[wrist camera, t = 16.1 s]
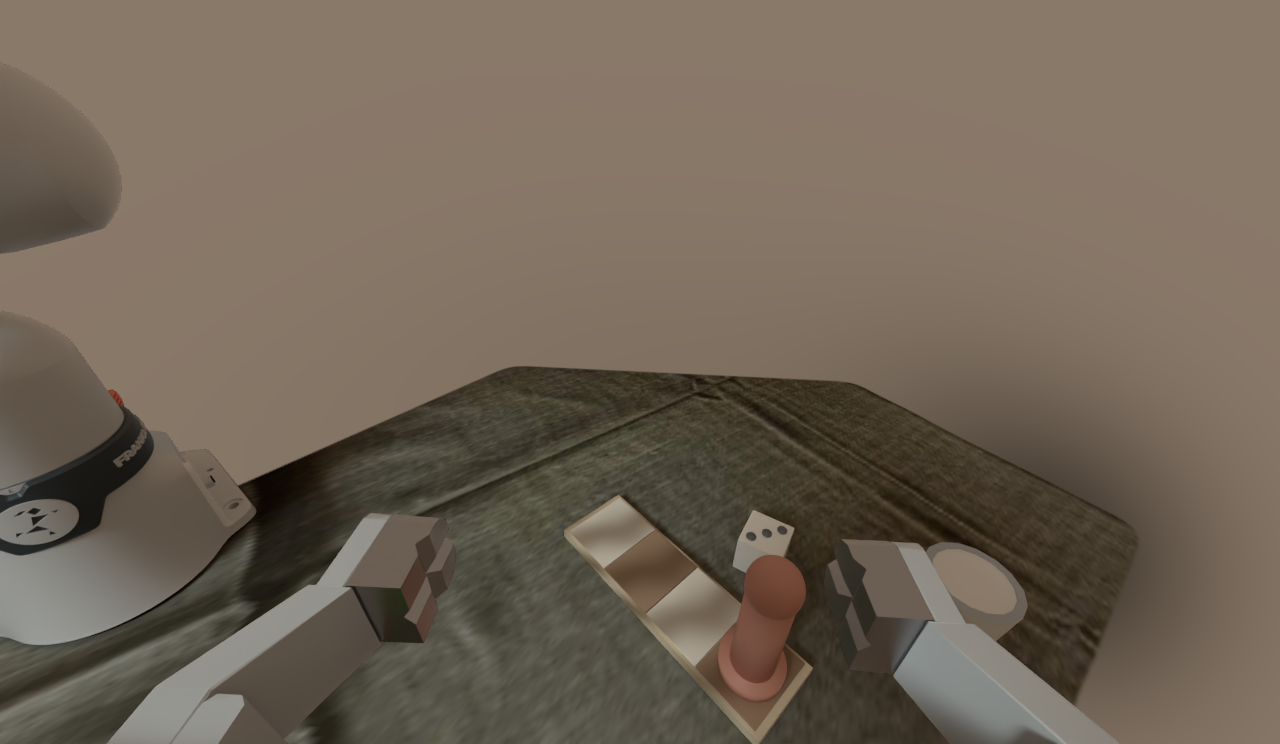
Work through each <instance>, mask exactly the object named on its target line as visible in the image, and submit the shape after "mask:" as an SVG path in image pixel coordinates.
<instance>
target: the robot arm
mask: <svg viewBox="0 0 1280 744" xmlns="http://www.w3.org/2000/svg"><path fill="white" fill-rule="evenodd" d="M121 192H122V185H121V175H120V171H119V167H118V164H117V162H116V159H115V157H114V155H113V153H112V151H111V149H110V147H109V145H108V144H107V142H106V141H105V139H104V138H103V136H102V135H101V134H100V132H99V131H98V130H97V129H96V127H95V126H94V125H93V124H92V123H91V122H90V121H89V120H88V119H87V118H86V117H85V116H84V115H83V114H82V113H81V112H80V111H79V110H78V109H77V108H76V107H75V106H73V105H72V104H71V103H70V102H69V101H68V100H66V99H65V98H63V97H62V96H61V95H59V94H58V93H57V92H55V91H54V90H53V89H51V88H49V87H48V86H46V85H45V84H43V83H42V82H40V81H38V80H37V79H35V78H33V77H31V76H30V75H28V74H26V73H24V72H22V71H21V70H19V69H17V68H14V67H12V66H9V65H6V64H3V63H0V254H1V253H10V252H17V251H20V250H25V249H29V248H33V247H37V246H41V245H45V244H49V243H53V242H57V241H61V240H65V239H68V238H72V237H76V236H79V235H83V234H86V233H90V232H94V231H97V230H100V229H103V228H105V227H106V226H107V225H108V223H110V221H111V220H112V218H113V217H114V215H115V213H116V211H117V209H118V206H119V203H120V199H121ZM255 514H256V508H255V507H254V506H253V504H252V503H251V502H250V501H249V499H248V498H247V497H246V496H245V494H244V493H243V492H242V491H241V489H240V488H239V487H238V486H237V484H236V483H235V482H234V481H233V480H232V478H231V477H230V476H229V474H228V473H227V472H226V471H225V470H224V468H223V467H222V466H221V464H220V463H219V462H218V461H217V459H216V458H215V457H214V456H213V455H212V454H211V453H210V451H208V450H206V449H201V450H190V451H184V452H179V450H178V449H177V447H176V446H175V444H174V443H173V441H172V440H171V438H170V437H169V436H168V434H167V433H165V432H161V431H148V430H147V429H146V427H145V425H144V423H143V422H142V421H141V420H140V419H139V418H138V417H137V416H136V415H134V414H132V413H131V412H130V411H129V409H127V408H125V407H124V404H123V401H122V399H121V398H120V396H119V395H118V393H117V392H116V391H114V390H108V391H107V389H106V388H105V387H104V385H103V384H102V382H101V381H100V380H99V378H98V377H97V375H96V374H95V373H94V372H93V370H92V369H91V367H90V366H89V364H88V363H87V362H86V360H85V359H84V357H83V356H82V355H81V353H80V352H79V351H78V349H77V348H76V346H75V345H74V344H73V342H72V341H71V340H70V339H69V338H68V337H66V336H65V335H64V334H62V333H60V332H59V331H57V330H56V329H54V328H52V327H50V326H48V325H46V324H44V323H42V322H40V321H37V320H35V319H32V318H30V317H26V316H23V315H20V314H15V313H11V312H5V311H0V637H7V638H11V639H13V640H16V641H19V642H21V643H25V644H32V645H49V644H57V643H64V642H68V641H73V640H77V639H81V638H84V637H87V636H91V635H94V634H96V633H99V632H102V631H105V630H107V629H110V628H112V627H115V626H117V625H119V624H121V623H124V622H126V621H128V620H130V619H132V618H134V617H136V616H138V615H140V614H141V613H143V612H145V611H147V610H149V609H150V608H152V607H154V606H155V605H157V604H159V603H160V602H162V601H163V600H165V599H166V598H168V597H169V596H171V595H172V594H174V593H175V592H177V591H178V590H179V589H181V588H182V587H183V586H184V585H186V584H187V583H188V582H189V581H191V580H192V579H193V578H194V577H195V576H196V575H198V574H199V573H200V572H201V571H202V570H203V569H204V568H205V567H206V566H207V565H208V564H209V562H210V561H211V560H212V559H213V558H214V557H215V555H216V554H217V553H218V551H219V550H220V549H221V547H222V546H223V544H224V543H225V542H226V541H227V540H228V538H229V537H230V536H231V535H233V534H234V533H235V532H236V531H238V530H239V529H240V528H241V527H243V526H244V525H245V524H246V523H247V522H249V521H250V520H251V519H252V518H253V517H254V515H255ZM448 531H449V527H448V524H447V521H446V519H442V518H430V517H418V516H406V515H393V514H378V513H371V514H369V515H368V516H367V517H365V518H364V519H363V520H362V521H361V522H360V524H359V525H358V527H357V528H356V530H355V531H354V532H353V534H352V535H351V537H350V538H349V539H348V541H347V542H346V544H345V545H344V546H343V548H342V549H341V551H340V552H339V554H338V555H337V556H336V558H335V559H334V561H333V562H332V563H331V565H330V566H329V568H328V569H327V571H326V572H325V573H324V575H323V576H322V578H321V579H320V580H319V582H318V583H317V585H308V586H306V587H305V588H303V589H302V590H300V591H299V592H297V593H296V594H294V595H293V596H291V597H290V598H288V599H287V600H285V601H284V602H282V603H281V604H279V605H278V606H276V607H274V608H273V609H271V610H270V611H268V612H267V613H265V614H264V615H262V616H261V617H259V618H258V619H256V620H255V621H253V622H252V623H250V624H249V625H247V626H246V627H244V628H243V629H241V630H240V631H238V632H237V633H235V634H234V635H232V636H231V637H229V638H228V639H226V640H225V641H223V642H222V643H220V644H219V645H217V646H216V647H214V648H213V649H211V650H210V651H208V652H207V653H205V654H204V655H202V656H201V657H199V658H198V659H196V660H195V661H193V662H192V663H190V664H189V665H187V666H186V667H184V668H183V669H181V670H180V671H178V672H177V673H175V674H174V675H172V676H171V677H169V678H168V679H166V680H165V681H163V682H162V683H160V684H159V685H157V686H156V687H155V688H154V689H153V690H152V691H151V692H150V694H149V695H148V696H147V697H146V698H145V700H144V701H143V702H142V703H141V704H140V705H139V707H138V708H137V709H136V710H135V711H134V712H133V714H132V715H131V716H130V717H129V718H128V719H127V721H126V722H125V723H124V724H123V725H122V726H121V728H120V729H119V730H118V731H117V732H116V733H115V735H114V736H113V737H112V738H111V739H110V740H109V742H108V743H107V744H288V743H287V742H286V741H285V740H284V738H285V737H286V736H287V735H288V734H289V733H290V732H291V731H293V730H294V729H295V728H296V727H297V726H298V725H299V724H300V723H301V722H302V721H303V720H304V719H305V718H306V717H307V716H308V715H309V714H310V713H311V712H312V711H313V710H314V709H315V708H316V707H317V706H318V705H319V704H320V703H321V702H322V701H323V700H324V699H325V698H327V697H328V696H329V695H330V694H331V693H332V692H333V691H334V690H335V689H336V688H337V687H338V686H339V685H340V684H341V683H342V682H343V681H344V680H345V679H346V678H347V677H348V676H349V675H350V674H351V673H352V672H353V671H354V670H355V669H356V668H357V667H358V666H359V665H361V664H362V663H363V662H364V661H365V660H366V659H367V658H368V657H369V656H370V655H371V654H372V653H373V652H374V651H375V650H376V649H377V648H378V647H379V646H380V645H381V643H380V642H403V643H424V641H425V639H426V637H427V635H428V632H429V630H430V628H431V625H432V623H433V621H434V619H435V616H436V614H437V612H438V607H437V604H436V600H435V599H436V598H437V597H439V596H440V595H441V594H442V593H443V592H445V591H446V590H447V589H448V586H449V584H450V582H451V579H452V577H453V573H454V568H455V563H456V550H455V547H454V543H453V542H451V541H450V540H449V539H448V538H446V535H447V533H448ZM833 551H834V554H835V556H836V559H835V560H834V561H832V562H831V563H829V564H828V566H827V569H826V572H825V576H824V589H825V595H826V600H827V604H828V607H829V610H830V612H831V613H832V614H833V615H834V616H835V617H836V618H837V619H838V620H839V621H840V622H841V625H840V628H839V630H838V633H837V636H838V639H839V642H840V645H841V648H842V651H843V654H844V657H845V660H846V664H847V667H848V670H859V671H871V672H882V673H893V674H894V675H893V677H894V678H895V679H896V680H897V681H898V683H899V684H900V685H901V686H902V687H903V689H904V690H905V691H906V692H907V693H908V695H909V696H910V697H911V698H912V699H913V701H914V702H915V703H916V704H917V705H918V706H919V708H920V709H921V710H922V711H923V712H924V714H925V715H926V716H927V717H928V718H929V720H930V721H931V722H932V723H933V724H934V726H935V727H936V728H937V729H938V730H939V732H940V733H941V734H942V735H943V736H944V738H945V739H946V740H947V741H948V742H949V743H950V744H1120V743H1119V742H1117V741H1116V740H1115V739H1114V738H1113V737H1111V736H1110V735H1109V734H1108V733H1106V732H1105V731H1104V730H1103V729H1102V728H1100V727H1099V726H1098V725H1097V724H1095V723H1094V722H1093V721H1092V720H1090V719H1089V718H1088V717H1087V716H1086V715H1085V714H1083V713H1082V712H1081V711H1080V710H1078V709H1077V708H1076V707H1075V706H1074V705H1072V704H1071V703H1070V702H1069V701H1068V700H1066V699H1065V698H1064V697H1063V696H1061V695H1060V694H1059V693H1058V692H1057V691H1055V690H1054V689H1053V688H1052V687H1050V686H1049V685H1048V684H1047V683H1046V682H1044V681H1043V680H1042V679H1041V678H1039V677H1038V676H1037V675H1036V674H1035V673H1033V672H1032V671H1031V670H1030V669H1029V668H1027V667H1026V666H1025V665H1024V664H1022V663H1021V662H1020V661H1019V660H1018V659H1016V658H1015V657H1014V656H1013V655H1011V654H1010V653H1009V652H1008V651H1007V650H1005V649H1004V648H1003V647H1002V646H1000V645H999V644H998V643H997V642H996V641H994V640H993V639H992V638H991V637H990V636H988V635H987V634H986V633H985V632H983V631H982V630H981V629H980V628H979V627H977V626H976V625H975V624H968V623H966V622H965V620H964V619H963V617H962V615H961V613H960V612H959V610H958V608H957V606H956V605H955V603H954V601H953V599H952V598H951V596H950V594H949V592H948V591H947V589H946V587H945V586H944V584H943V582H942V580H941V579H940V577H939V575H938V573H937V572H936V570H935V568H934V566H933V565H932V563H931V561H930V559H929V558H928V556H927V554H926V552H925V551H924V549H923V548H922V547H921V546H920V545H919V544H918V543H904V542H889V541H873V540H848V539H841V540H839V541H838V542H837V543H836V545H835V548H834V550H833Z"/></svg>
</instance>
